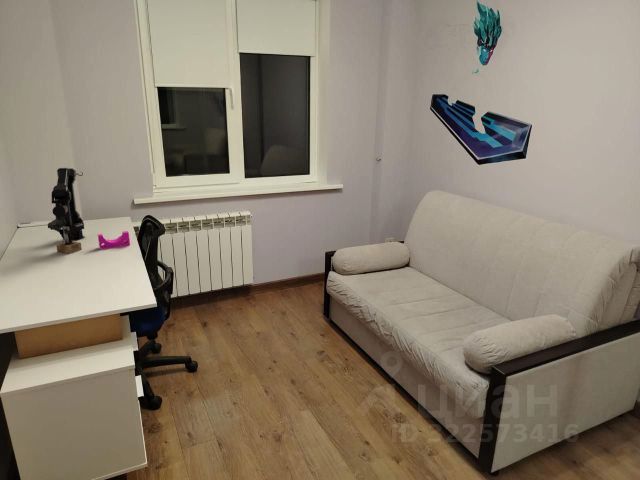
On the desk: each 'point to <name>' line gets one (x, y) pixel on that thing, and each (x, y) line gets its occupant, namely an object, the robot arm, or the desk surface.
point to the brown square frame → (69, 247)
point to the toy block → (114, 241)
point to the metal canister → (66, 237)
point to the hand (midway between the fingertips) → (68, 241)
